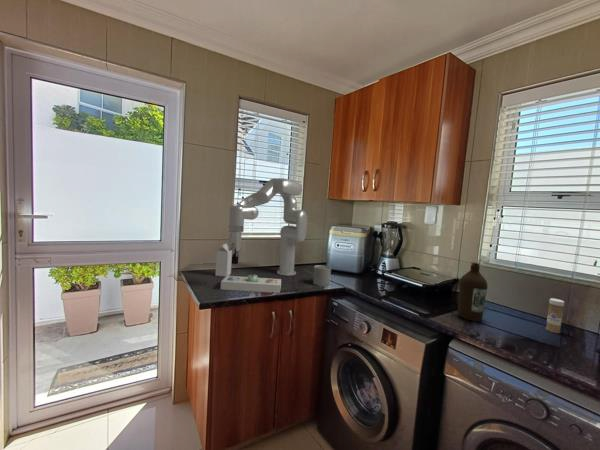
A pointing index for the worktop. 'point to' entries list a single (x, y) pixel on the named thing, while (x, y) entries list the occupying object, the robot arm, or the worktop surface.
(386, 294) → the worktop surface
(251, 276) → the button three
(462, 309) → the olive oil
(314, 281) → the coffee mug
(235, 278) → the button two
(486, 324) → the worktop surface
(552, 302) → the sprinkles bottle
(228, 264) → the milk carton
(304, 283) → the worktop surface
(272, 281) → the button one
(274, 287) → the button board
